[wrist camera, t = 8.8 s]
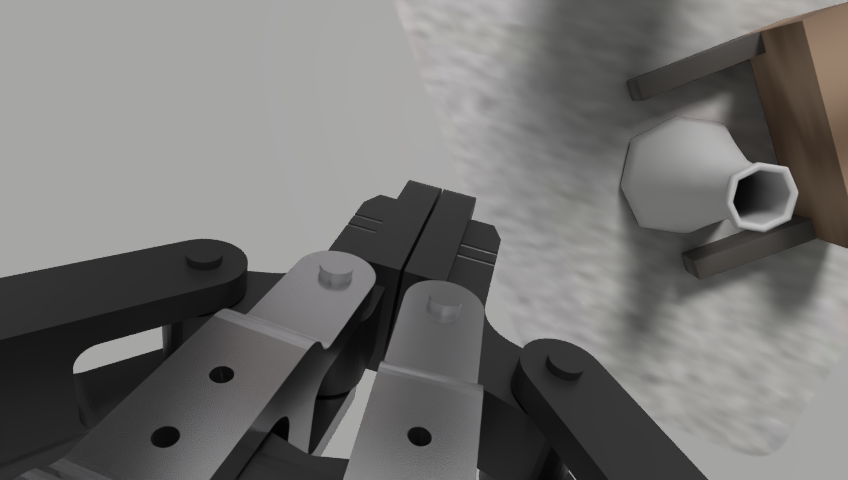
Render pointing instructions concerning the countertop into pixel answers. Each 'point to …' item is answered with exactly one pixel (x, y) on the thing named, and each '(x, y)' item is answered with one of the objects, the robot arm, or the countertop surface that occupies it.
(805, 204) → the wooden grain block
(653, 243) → the countertop surface
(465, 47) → the countertop surface
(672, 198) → the flask
